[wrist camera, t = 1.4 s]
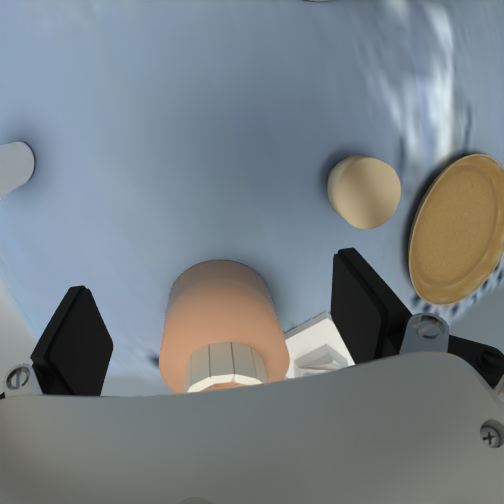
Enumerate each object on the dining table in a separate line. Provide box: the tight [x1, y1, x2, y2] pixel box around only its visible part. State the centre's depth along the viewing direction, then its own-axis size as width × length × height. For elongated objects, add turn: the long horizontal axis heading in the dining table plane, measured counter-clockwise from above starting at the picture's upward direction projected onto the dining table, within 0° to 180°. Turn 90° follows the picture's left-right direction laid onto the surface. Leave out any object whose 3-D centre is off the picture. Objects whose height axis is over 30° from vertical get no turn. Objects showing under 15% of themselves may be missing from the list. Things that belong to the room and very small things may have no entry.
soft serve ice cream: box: [283, 311, 355, 378], centre depth 39 cm, size 12×15×14 cm
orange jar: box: [159, 260, 290, 393], centre depth 32 cm, size 13×13×15 cm
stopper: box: [327, 154, 401, 229], centre depth 30 cm, size 7×7×6 cm
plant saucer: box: [408, 154, 504, 306], centre depth 37 cm, size 24×24×3 cm
